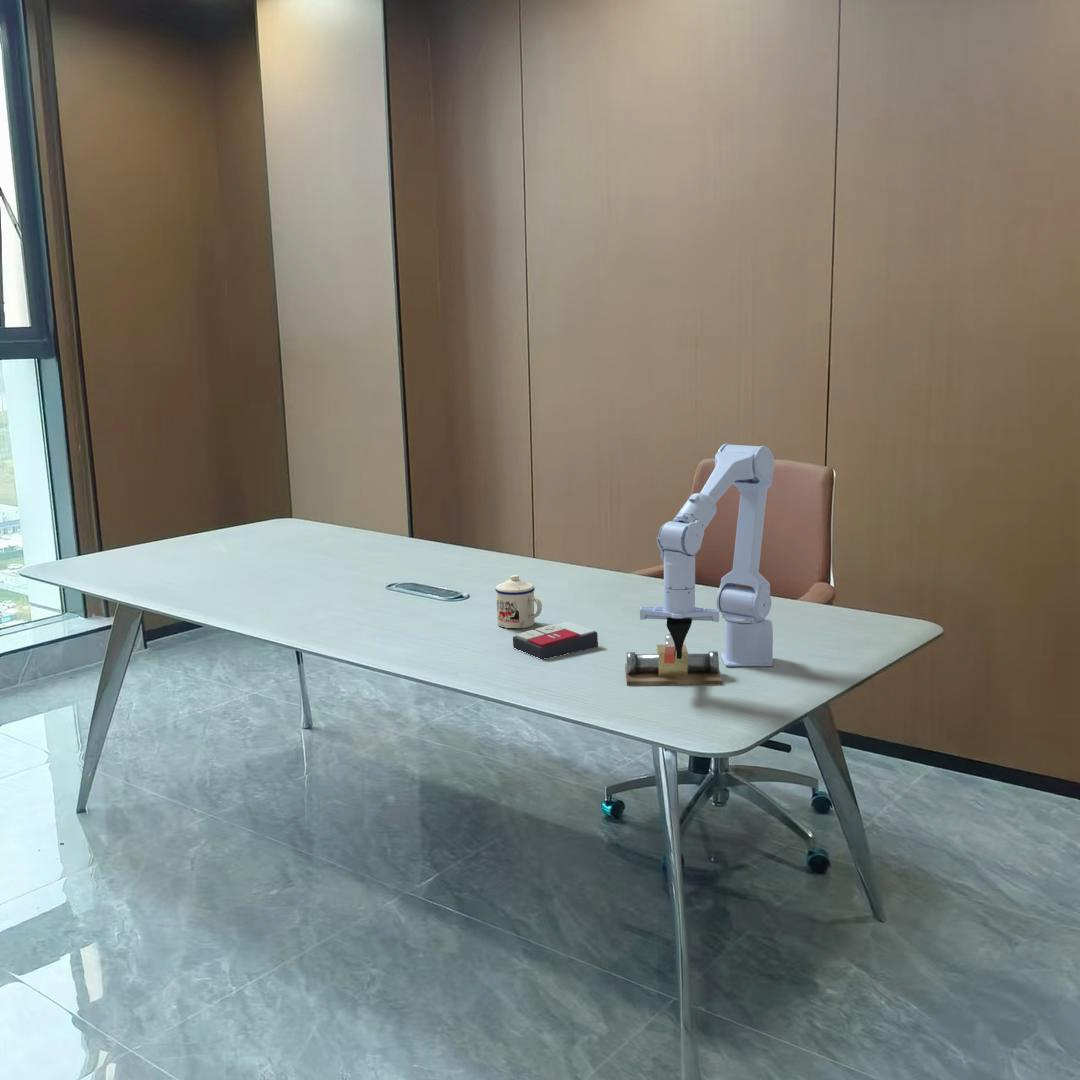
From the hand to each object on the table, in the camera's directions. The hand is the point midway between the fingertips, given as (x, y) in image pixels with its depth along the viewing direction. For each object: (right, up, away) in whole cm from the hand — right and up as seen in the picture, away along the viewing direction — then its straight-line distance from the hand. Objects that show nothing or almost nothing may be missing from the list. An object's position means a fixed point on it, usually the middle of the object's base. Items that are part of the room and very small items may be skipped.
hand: (679, 657), depth 200 cm
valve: (0, -5, +10) cm, 11 cm away
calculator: (-23, -2, +31) cm, 38 cm away
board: (0, -5, +10) cm, 11 cm away
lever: (-1, +1, +3) cm, 3 cm away
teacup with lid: (-30, +2, +49) cm, 57 cm away
